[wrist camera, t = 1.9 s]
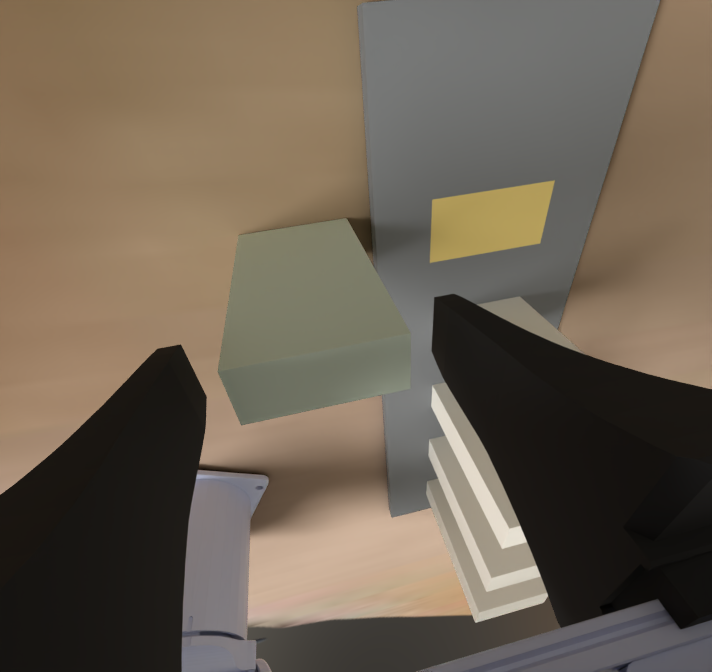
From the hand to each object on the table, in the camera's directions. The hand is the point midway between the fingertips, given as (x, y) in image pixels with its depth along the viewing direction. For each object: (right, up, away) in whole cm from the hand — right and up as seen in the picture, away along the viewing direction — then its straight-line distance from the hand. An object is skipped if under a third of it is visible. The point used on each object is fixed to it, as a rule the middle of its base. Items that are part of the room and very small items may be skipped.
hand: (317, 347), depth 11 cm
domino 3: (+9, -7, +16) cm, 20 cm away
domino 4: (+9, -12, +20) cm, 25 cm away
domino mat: (+8, -1, +12) cm, 15 cm away
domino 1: (-2, +4, +6) cm, 8 cm away
